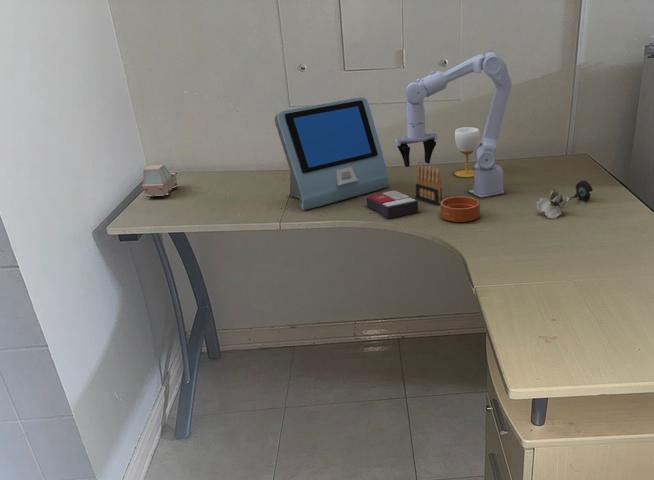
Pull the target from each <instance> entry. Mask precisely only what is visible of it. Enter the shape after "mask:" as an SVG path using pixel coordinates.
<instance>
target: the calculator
mask: <svg viewBox="0 0 654 480" xmlns="http://www.w3.org/2000/svg"><path fill="white" fill-rule="evenodd" d="M366 206H367V208H370V209H372V210H374V211H376V212H378V213H380V214H381V216H382V217H384V218H386V219H393V218H397V217H402V216H406V215H412V214H415V213H418V212H419V203H418V200H417V199H416V198H412V197H410V196H409V195H407V194H404V193H402V192H400V191H398V190H390V191H385V192H382V193H376V194H370V195H368V196H367V197H366Z"/></svg>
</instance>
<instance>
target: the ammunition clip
mask: <svg viewBox="0 0 654 480" xmlns="http://www.w3.org/2000/svg"><path fill="white" fill-rule="evenodd" d="M440 176H441V175H440V169H439V167H435V166H433V167H432V166H431V165H429V166H428V164H425V165H424V163H420V162H418V163H417V166H416V183H415V200H420V201H423V202H427V203H430V204H433V205H436V206H440V203H441V201H442V200H443V197H442V196H443V195H442V194H443V193H442V188H441V177H440Z"/></svg>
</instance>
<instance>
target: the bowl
mask: <svg viewBox="0 0 654 480" xmlns="http://www.w3.org/2000/svg"><path fill="white" fill-rule="evenodd" d="M439 206H440V217H441V218H442V219H443V220H446V221H448V222H449V221H450V222H452V223H465V222H466V223H467V222H471V221H475V220H477V219H478V218H479V217H480V213H481V201H480V200H479V199H477V198H474V197H471V196H450V197H447V198H444V199H442V201H441V203H440V204H439Z"/></svg>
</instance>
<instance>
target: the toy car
mask: <svg viewBox="0 0 654 480" xmlns="http://www.w3.org/2000/svg"><path fill="white" fill-rule="evenodd" d="M142 173H143V174H142V175H143V177H142V178H143V180H142V181H143V183H142V186H141V187H142V190H143V192H144V195H145V194H148V195H165V194H166V193H168V192H169V191H170V189H172V187H174V186H176V185H177V186H176V187H175V188H173V189H172V190H177V189H178V180H177V173H176V172H170V171H169V170H168V169H167V167H166V166H165V165H164V164H149V165H147V166H146V167H145V168H144V169H143V170H142ZM170 196H171V191H170V193H169V194H168V195H166V196H165V197H170Z"/></svg>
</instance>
